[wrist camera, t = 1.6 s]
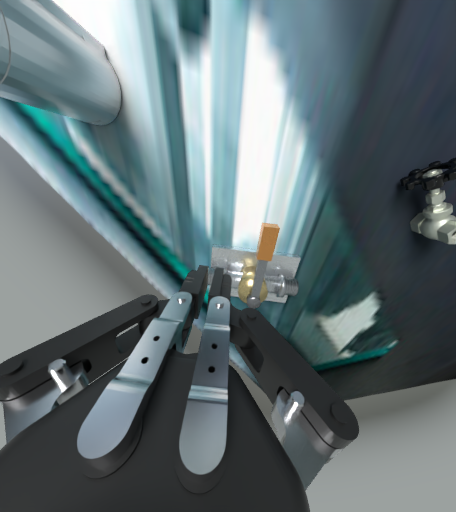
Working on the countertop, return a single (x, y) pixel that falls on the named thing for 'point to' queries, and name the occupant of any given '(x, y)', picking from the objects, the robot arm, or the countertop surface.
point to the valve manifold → (243, 270)
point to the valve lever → (262, 261)
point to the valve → (434, 202)
